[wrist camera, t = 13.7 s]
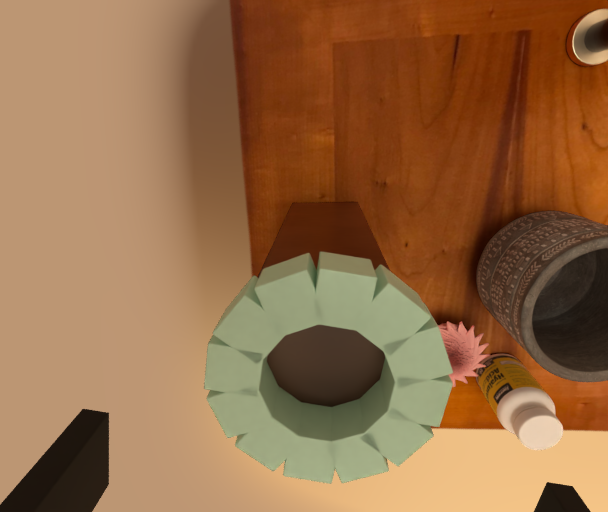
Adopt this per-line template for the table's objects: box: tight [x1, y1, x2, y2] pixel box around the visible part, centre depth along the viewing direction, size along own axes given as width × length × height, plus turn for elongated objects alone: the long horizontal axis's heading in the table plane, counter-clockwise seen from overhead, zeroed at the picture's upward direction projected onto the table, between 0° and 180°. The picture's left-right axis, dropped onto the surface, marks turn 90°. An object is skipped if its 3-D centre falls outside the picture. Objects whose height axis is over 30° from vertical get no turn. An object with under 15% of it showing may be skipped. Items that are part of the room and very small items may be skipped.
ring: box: [204, 252, 453, 484], centre depth 18 cm, size 10×10×2 cm
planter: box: [476, 211, 608, 382], centre depth 36 cm, size 12×12×13 cm
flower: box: [438, 321, 490, 387], centre depth 42 cm, size 8×8×6 cm
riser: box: [258, 202, 390, 407], centre depth 30 cm, size 7×7×24 cm
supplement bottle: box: [476, 354, 563, 450], centre depth 41 cm, size 5×5×10 cm
